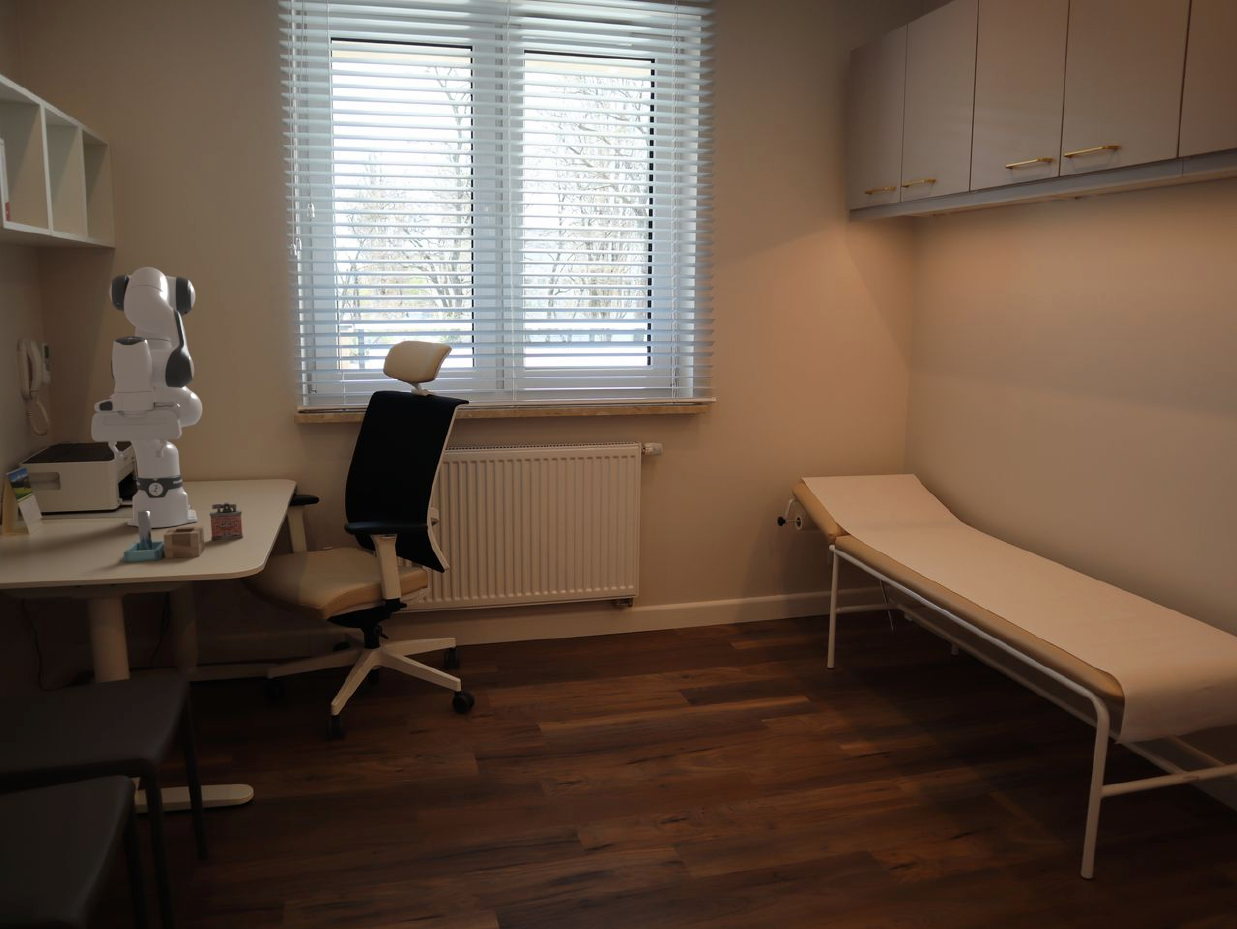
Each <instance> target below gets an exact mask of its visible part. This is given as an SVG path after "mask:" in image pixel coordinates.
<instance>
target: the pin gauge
mask: <svg viewBox="0 0 1237 929" xmlns="http://www.w3.org/2000/svg"><path fill="white" fill-rule="evenodd" d="M137 513H138V526H137V527H138V540H139V542H140V551H142V550H152V542H153V538H152V528H151V522H150V511H138V512H137Z"/></svg>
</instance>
